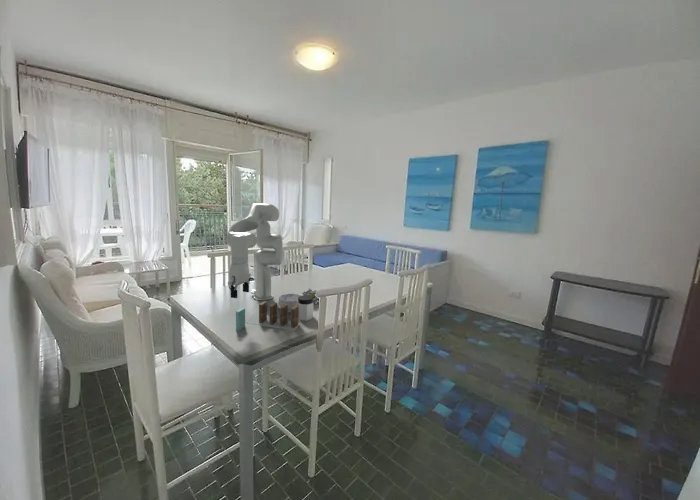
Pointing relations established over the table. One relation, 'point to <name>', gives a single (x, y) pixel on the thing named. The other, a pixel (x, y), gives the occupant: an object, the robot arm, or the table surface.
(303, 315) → the jar
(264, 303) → the tile
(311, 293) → the passion flower
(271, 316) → the tile
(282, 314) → the tile
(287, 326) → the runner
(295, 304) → the paper bowls
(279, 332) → the table surface
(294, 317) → the tile
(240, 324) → the tile
